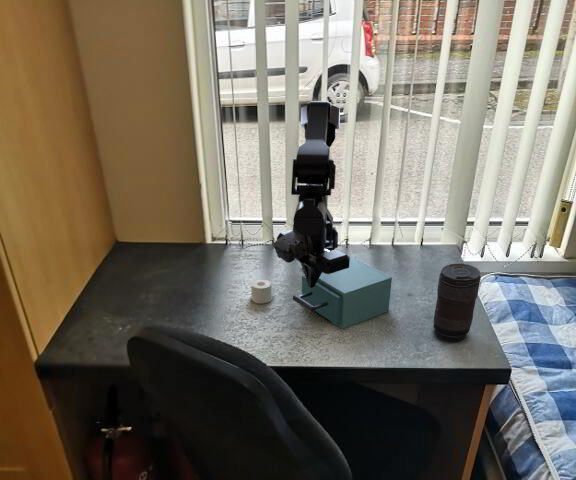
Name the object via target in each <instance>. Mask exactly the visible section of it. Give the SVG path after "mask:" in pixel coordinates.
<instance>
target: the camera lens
mask: <svg viewBox="0 0 576 480" xmlns="http://www.w3.org/2000/svg"><path fill="white" fill-rule="evenodd" d="M481 281H482V279H481V271H480V270H479V269H478V268H477V267H475V266H474V265H472V264H466V263H450V264H447V265H444V266H443V267H442V268H441V270H440V272H439V276H438V283H437V295H436V296H437V298H436V303H435V309H434V314H433V328H434V336H435V337H436V338H437V339H439V340H441V341H442V342H446V343H453V344H454V343H461V342H463V341H465V340H466V338H467V335H468V334H469V333H470V329H471V327H472V324H473V319H474V310H475V305H476V301H477V298H478V294H479V290H480V285H481Z"/></svg>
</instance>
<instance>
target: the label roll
mask: <svg viewBox="0 0 576 480" xmlns="http://www.w3.org/2000/svg"><path fill="white" fill-rule="evenodd" d="M250 287H251V289H250V291H251V300H252V302H253V303H256V304H261V305H262V304H267V303H270V302H272V299H273V295H272V294H273V293H272V292H273V291H272V282H271V281H270V280H268V279H256V280H253V281H252V282H251V283H250Z"/></svg>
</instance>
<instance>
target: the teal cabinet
mask: <svg viewBox="0 0 576 480" xmlns="http://www.w3.org/2000/svg"><path fill="white" fill-rule="evenodd" d="M348 256H349V257H350V266H349V268H347V269H344V270H340V271H337V272H334V273H331V274H325V273H323V272H322V274H321V276H320V277H319V279H318V281H319V282H321V283H322V284H324V285H326V286H327V287H329V288H330V289H332V290H334V291H335V292H337V293H339V294H340V295H342V313H341V324H339V325H337V326H338V327H340V328H341V329H345V328H348V327H350V326H353V325H356V324H359V323H360V322H364V321H367V320H369V319H372V318H374V317H377V316H379V315H382V314H385V313H387V312H389V309H390V300H391V292H392V291H391V290H392V280H393V277H392V276H391V275H388V274H386V273H384V272H383V271H381V270H378V269H377V268H375V267H373V266H371V265H369V264H368V263H365V262H364V261H362V260H360V259H357V258H356V257H354V256H352V255H348Z"/></svg>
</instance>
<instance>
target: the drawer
mask: <svg viewBox="0 0 576 480" xmlns="http://www.w3.org/2000/svg"><path fill="white" fill-rule="evenodd" d="M291 299H292V300H293V302H295V303H297V304H298V305H299V306H301V307H302V308H304V309H305V310H307V311H308V312H310V313H311V314H312V313H314V312H316V313H318V314H319V315H321V316H322V317H324V318H325V319H327V320H328V321H330V322H331V323H332V324H334V325H336V326H338V325H339V324H341V313H342V295H340V294H339V293H337V292H335V291H334V290H332V289H330V288H329V287H327V286H326V285H324V284H322V283H321V282H319V281H317V283H316V285H315V287H313V288H310V287H309V286H308V283H307V280H306V277H305V274H303V275H301V294H300V295H298V294H294V295H293V296H292V298H291Z"/></svg>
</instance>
